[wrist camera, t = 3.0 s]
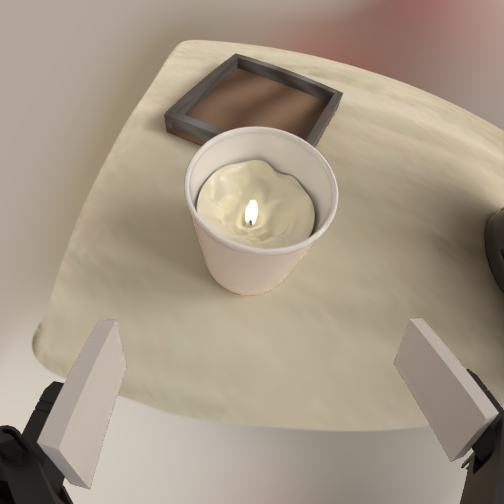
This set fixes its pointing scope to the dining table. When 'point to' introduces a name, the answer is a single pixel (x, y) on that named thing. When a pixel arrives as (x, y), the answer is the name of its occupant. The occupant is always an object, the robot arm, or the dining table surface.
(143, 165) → the dining table surface
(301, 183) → the candle holder
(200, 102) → the socket base
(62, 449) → the robot arm
